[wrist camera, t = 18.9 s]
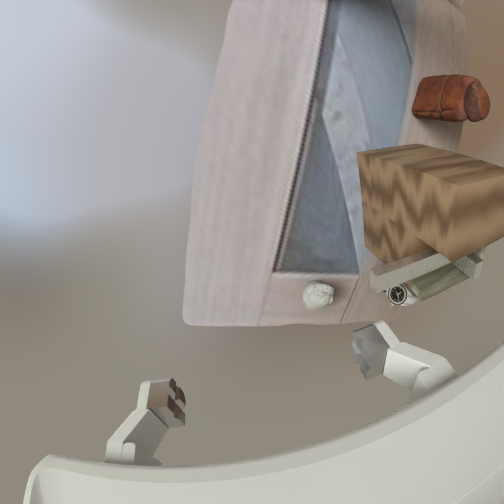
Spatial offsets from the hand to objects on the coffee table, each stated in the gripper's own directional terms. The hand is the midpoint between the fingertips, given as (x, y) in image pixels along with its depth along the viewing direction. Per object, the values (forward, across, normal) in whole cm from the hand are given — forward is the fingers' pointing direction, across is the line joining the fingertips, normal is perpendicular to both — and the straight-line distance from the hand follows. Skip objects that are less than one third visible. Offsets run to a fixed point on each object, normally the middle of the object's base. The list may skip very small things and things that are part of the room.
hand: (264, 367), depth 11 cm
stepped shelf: (+39, -33, +10) cm, 52 cm away
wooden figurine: (+39, -45, -10) cm, 61 cm away
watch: (+39, -31, +30) cm, 58 cm away
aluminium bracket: (+22, -26, +15) cm, 37 cm away
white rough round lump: (+39, -12, +26) cm, 49 cm away
